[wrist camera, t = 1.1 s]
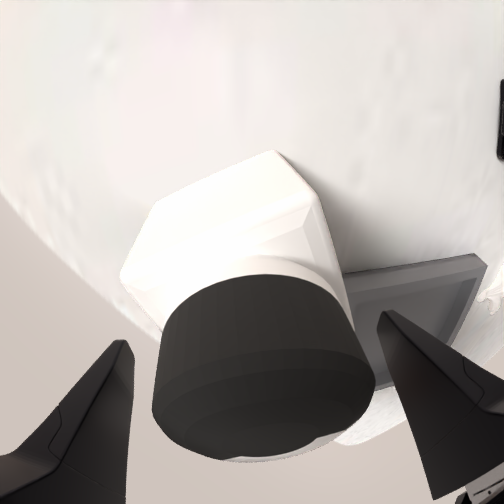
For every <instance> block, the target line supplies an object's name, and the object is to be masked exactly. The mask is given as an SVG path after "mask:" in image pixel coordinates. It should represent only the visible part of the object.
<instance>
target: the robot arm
mask: <svg viewBox="0 0 504 504" xmlns="http://www.w3.org/2000/svg"><path fill="white" fill-rule="evenodd" d="M497 154H498V157H500V158H502V159H504V79H502V81H501V114H500V130H499V141H498V150H497ZM376 330H377V335H378V338H379V341H380V345H381V348H382V351H383V355H384V358H385V362H386V365H387V368H388V370H389V373H390V375H391V378H392V380H393V383H394V385H395V388H396V390H397V393H398V395H399V398H400V401H401V403H402V406H403V409H404V411H405V414H406V417H407V419H408V422H409V425H410V428H411V431H412V433H413V436H414V439H415V442H416V445H417V448H418V451H419V454H420V457H421V461H422V464H423V467H424V471H425V474H426V477H427V481H428V484H429V487H430V491H431V494H432V498H433V500H436V499H439V498H441V497H443V496H445V495H447V494H449V493H451V492H453V491H455V490H457V489H459V488H461V487H463V486H465V488H466V490H467V491H465V492H464V493H462V494H461V495H459V496H458V497H457V499H456V502H455V504H504V380H502V379H501V378H499V377H497V376H495V375H493V374H491V373H490V372H488V371H486V370H485V369H483V368H481V367H480V366H478V365H477V364H475V363H473V362H472V361H470V360H469V359H467V358H466V357H464V356H462V355H461V354H460V353H458V352H457V351H456V350H454V349H453V348H451V347H450V346H448V345H447V344H445V343H444V342H442V341H441V340H439V339H438V338H436V337H435V336H433V335H432V334H430V333H428V332H427V331H425V330H424V329H422V328H421V327H419V326H418V325H416V324H415V323H413V322H412V321H410V320H409V319H407V318H406V317H404V316H402V315H401V314H399V313H398V312H396V311H395V310H393V309H388V310H384V311H382V312H381V314H380V317H379V320H378V324H377V328H376ZM134 365H135V358H134V354H133V352H132V350H131V348H130V346H129V344H128V342H127V341H126V340H115V341H113V342H112V344H111V345H110V346H109V347H108V348H107V349H106V350H105V351H104V352H103V353H102V355H101V356H100V357H99V358H98V359H97V360H96V361H95V363H94V364H93V365H92V366H91V367H90V368H89V369H88V370H87V372H86V373H85V374H84V375H83V376H82V377H81V379H80V380H79V381H78V382H77V383H76V384H75V386H74V387H73V388H72V389H71V390H70V391H69V392H68V394H67V395H66V396H65V397H64V398H63V400H62V401H61V402H60V403H59V406H57V407H56V408H55V409H54V410H53V412H52V413H51V414H50V415H49V416H48V417H47V418H46V419H45V421H44V422H43V423H42V424H41V425H40V426H39V427H38V428H37V429H36V430H35V431H34V432H33V433H32V434H31V435H30V436H29V437H28V438H27V439H26V440H25V441H24V442H23V443H22V444H21V445H20V446H19V447H18V448H17V449H16V450H14V451H13V452H11V453H9V454H6V455H2V456H0V504H126V503H125V502H126V497H125V496H126V472H127V457H128V445H129V434H130V423H131V415H132V406H133V398H134Z"/></svg>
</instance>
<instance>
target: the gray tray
mask: <svg viewBox="0 0 504 504" xmlns="http://www.w3.org/2000/svg"><path fill="white" fill-rule="evenodd" d="M487 266H488V265H487V264H485V263H484V262H483V261H482V260H481V259H480V258H479V257H478V256H477V255H476V254H474V253H473V254H468V255H462V256H456V257H451V258H445V259H439V260H433V261H427V262H421V263H414V264H408V265H402V266H395V267H388V268H382V269H375V270H368V271H361V272H353V273H346V274H341V275H342V278H343V282H344V286H345V290H346V294H347V298H348V302H349V306H350V311H351V315H352V319H353V324H354V329H355V334H356V336H357V338H358V340H359V342H360V344H361V346H362V349H363V351H364V353H365V355H366V357H367V359H368V361H369V363H370V366H371V368H372V370H373V372H374V375H375V379H376V386H375V390H374V391H377V390H381V389H384V388H387V387H391V386H394V383H393V380H392V378H391V375H390V373H389V370H388V368H387V365H386V362H385V358H384V355H383V351H382V348H381V345H380V341H379V338H378V335H377V330H376V328H377V324H378V320H379V317H380V314H381V312H382V311H384V310H388V309H393V310H395V311H396V312H398V313H399V314H401V315H402V316H404V317H406V318H407V319H409V320H410V321H412V322H413V323H415V324H416V325H418V326H419V327H421V328H422V329H424V330H425V331H427V332H428V333H430V334H432V335H433V336H435V337H436V338H438V339H439V340H441V341H442V342H444V343H445V344H447V345H448V346H451V344H452V343H453V341H454V339H455V337H456V335H457V333H458V332H459V330H460V328H461V326H462V324H463V322H464V320H465V318H466V316H467V314H468V311H469V309H470V307H471V305H472V303H473V301H474V298H475V296H476V294H477V291H478V289H479V287H480V284H481V282H482V279H483V277H484V274H485V272H486V269H487Z"/></svg>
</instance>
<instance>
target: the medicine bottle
mask: <svg viewBox="0 0 504 504" xmlns="http://www.w3.org/2000/svg"><path fill="white" fill-rule="evenodd" d="M120 281H121V283H122V285H123V286H124V287H125V289H126V290H127V291H128V292H129V294H130V295H131V296H132V298H133V299H134V300H135V301H136V303H137V304H138V305H139V306H140V307H141V309H142V310H143V311H144V312H145V313H146V315H147V316H148V317H149V318H150V319H151V321H152V322H153V323H154V324H155V325H156V326H157V328H158V329H159V330H160V331H161V332H162V338H161V344H160V351H159V357H158V364H157V371H156V378H155V385H154V393H153V401H152V413H153V417H154V419H155V421H156V422H157V424H158V425H159V426H160V428H161V429H162V431H163V432H164V433H165V434H166V435H167V436H168V437H169V438H170V439H171V440H172V441H173V442H175V443H176V444H178V445H180V446H182V447H184V448H186V449H188V450H191V451H193V452H196V453H198V454H201V455H204V456H207V457H210V458H213V459H218V460H223V461H230V462H265V461H273V460H279V459H285V458H289V457H293V456H297V455H300V454H303V453H306V452H309V451H312V450H314V449H316V448H319V447H321V446H323V445H325V444H327V443H329V442H330V441H332V440H334V439H335V438H337V437H338V436H339V435H341V434H342V433H343V432H344V431H346V430H347V429H348V428H350V427H351V426H352V425H353V424H354V423H356V422H357V421H358V420H359V419H360V418H361V417H362V415H363V414H364V413H365V412H366V410H367V408H368V406H369V404H370V402H371V399H372V396H373V393H374V390H375V386H376V379H375V375H374V372H373V370H372V368H371V366H370V363H369V361H368V359H367V357H366V355H365V353H364V351H363V349H362V346H361V344H360V342H359V340H358V338H357V336H356V334H355V329H354V324H353V319H352V315H351V311H350V306H349V302H348V298H347V294H346V290H345V286H344V282H343V278H342V275H341V271H340V267H339V263H338V260H337V256H336V253H335V249H334V245H333V242H332V239H331V235H330V232H329V228H328V225H327V222H326V219H325V215H324V212H323V209H322V206H321V203H320V200H319V196H318V195H317V194H316V192H315V191H314V190H313V189H312V188H311V187H310V185H309V184H308V183H307V182H306V181H305V180H304V179H303V178H302V177H301V176H300V175H299V174H298V172H297V171H296V170H295V169H294V168H293V167H292V166H291V165H290V164H289V163H288V162H287V161H286V160H285V159H284V158H283V157H282V156H281V155H280V154H279V153H278V152H277V151H276V150H269V151H266V152H264V153H261V154H259V155H257V156H254V157H252V158H249V159H247V160H245V161H242V162H240V163H238V164H235V165H233V166H231V167H228V168H226V169H224V170H222V171H219V172H217V173H215V174H213V175H211V176H208V177H206V178H204V179H202V180H200V181H198V182H196V183H193V184H191V185H189V186H187V187H185V188H183V189H181V190H179V191H177V192H175V193H173V194H171V195H169V196H167V197H165V198H163V199H161V200H159V201H157V202H156V203H155V204H154V206H153V208H152V210H151V212H150V214H149V216H148V217H147V219H146V221H145V223H144V225H143V227H142V229H141V231H140V233H139V235H138V237H137V239H136V241H135V243H134V245H133V247H132V249H131V251H130V253H129V255H128V257H127V259H126V261H125V264H124V266H123V268H122V270H121V272H120Z"/></svg>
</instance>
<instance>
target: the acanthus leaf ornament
mask: <svg viewBox="0 0 504 504" xmlns="http://www.w3.org/2000/svg"><path fill="white" fill-rule="evenodd" d="M501 297H504V264H503V265H502V266H501V268H500V270H499V273H498V275H497V277H496V279H495V280H494V282H493V283H492V284H491V285H490V286H489V287H488V288H487V289H486V290H484V291H482V292H481V293H480V294H479V296H478V298H477V302H483V301H484V300H485V299H489V305H488V309H489V310H490V311H491V312H490V315H494V313H496V312H497V311H498V310H499V308H500V306H501Z"/></svg>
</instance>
